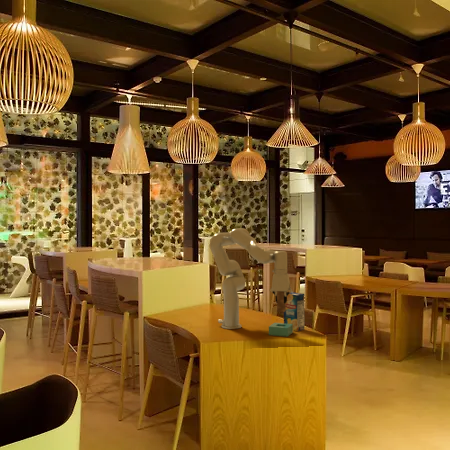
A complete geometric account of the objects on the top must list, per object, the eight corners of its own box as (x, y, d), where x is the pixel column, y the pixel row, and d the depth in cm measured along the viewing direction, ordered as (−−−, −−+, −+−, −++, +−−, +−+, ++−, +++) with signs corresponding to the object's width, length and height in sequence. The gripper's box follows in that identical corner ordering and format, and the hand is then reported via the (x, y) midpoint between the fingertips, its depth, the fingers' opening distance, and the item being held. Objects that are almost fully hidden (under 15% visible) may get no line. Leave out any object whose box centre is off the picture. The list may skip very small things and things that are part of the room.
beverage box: (297, 331, 314) (297, 295, 314) (283, 328, 322) (283, 293, 322) (304, 329, 319) (304, 293, 318) (291, 326, 327) (290, 291, 326)
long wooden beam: (277, 311, 307) (276, 288, 306) (279, 310, 310) (278, 287, 310) (283, 312, 305) (283, 288, 305) (285, 310, 309) (285, 287, 308)
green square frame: (268, 334, 305) (268, 326, 305) (274, 330, 316) (274, 322, 316) (287, 336, 301) (287, 328, 301) (292, 332, 311) (292, 324, 311)
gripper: (265, 272, 307) (265, 303, 307) (293, 272, 301) (293, 304, 301) (269, 270, 314) (269, 301, 314) (296, 271, 308) (296, 302, 308)
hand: (281, 302), depth 308 cm, fingers closed on long wooden beam, 4 cm apart
